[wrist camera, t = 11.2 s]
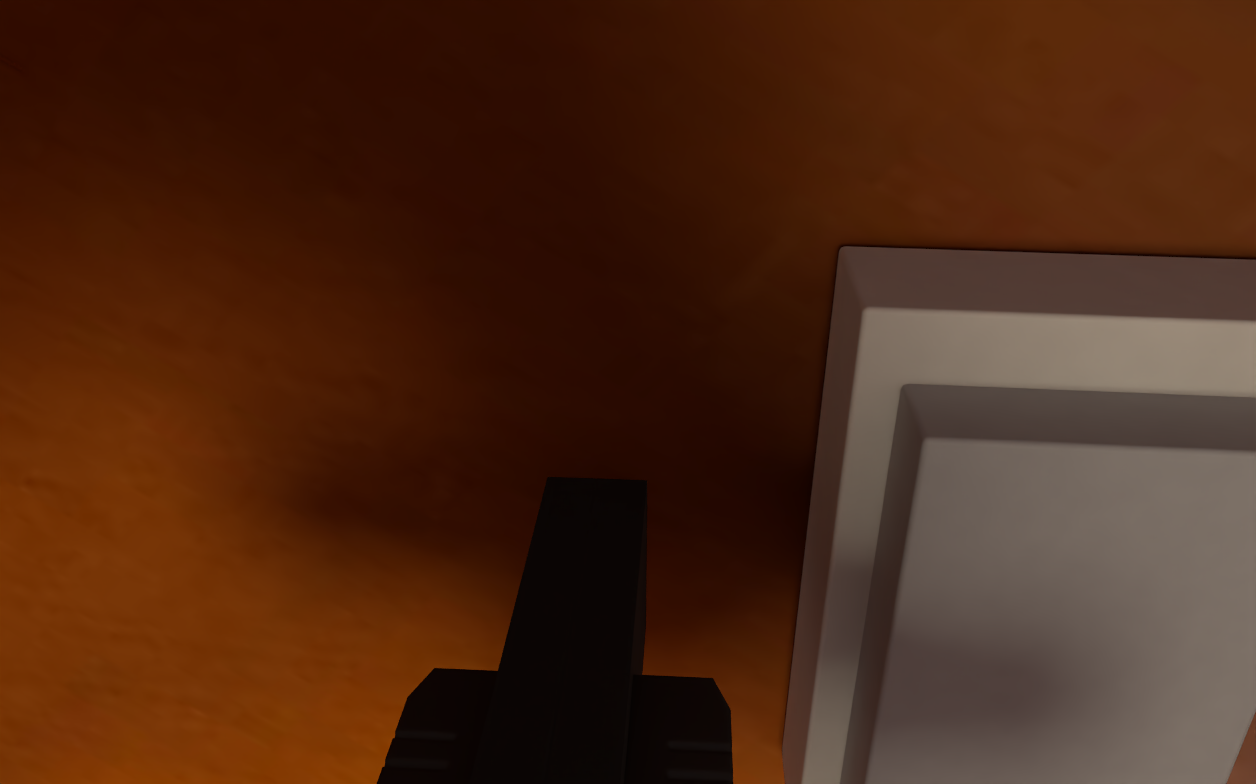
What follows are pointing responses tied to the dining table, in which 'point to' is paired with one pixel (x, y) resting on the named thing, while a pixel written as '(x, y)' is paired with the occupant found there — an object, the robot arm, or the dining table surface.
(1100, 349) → the stepped grey block
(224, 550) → the dining table surface
